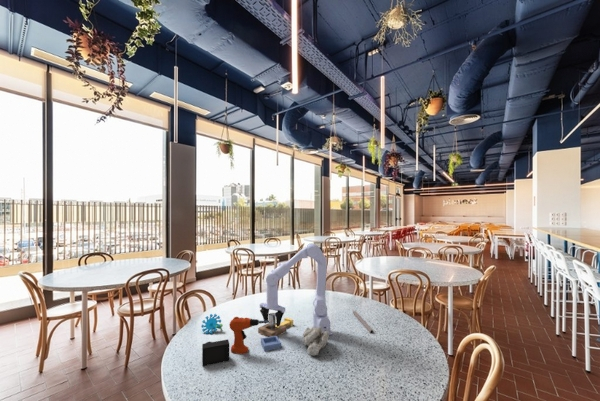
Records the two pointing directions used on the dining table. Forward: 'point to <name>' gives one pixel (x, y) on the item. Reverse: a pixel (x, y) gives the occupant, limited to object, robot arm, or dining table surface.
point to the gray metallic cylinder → (272, 321)
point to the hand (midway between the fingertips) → (272, 324)
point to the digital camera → (215, 352)
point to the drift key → (286, 322)
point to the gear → (211, 324)
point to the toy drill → (241, 333)
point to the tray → (270, 343)
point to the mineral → (315, 339)
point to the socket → (269, 333)
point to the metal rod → (363, 322)
